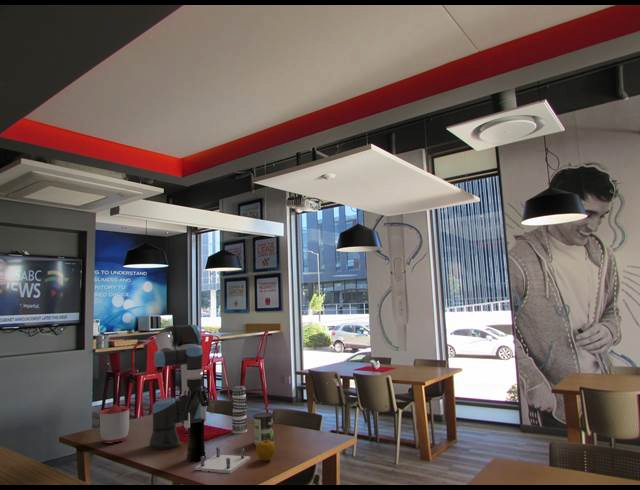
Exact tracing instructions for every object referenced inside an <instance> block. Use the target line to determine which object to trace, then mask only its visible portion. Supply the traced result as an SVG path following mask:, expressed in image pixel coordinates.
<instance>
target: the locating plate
mask: <svg viewBox="0 0 640 490" xmlns="http://www.w3.org/2000/svg"><path fill="white" fill-rule="evenodd" d="M215 448H216V450H215V451H216V452H215V455H213V456H212V457H209V458H208V459H205V460H204V456H201V462H200V464H198V465H197V466H195V467H194V471H195V470H202V471H201V472H208V471H210V473H220V474H224V473H225V474H232V473H233V472H235V471H236V470H237V469H238V468H240V467H242V466H243V465H244V464H246V463H247V462H249V461H250V460H251V456H247V455H246V456H245V448H240V455H231V454H221V448H220V446H218V447H215Z"/></svg>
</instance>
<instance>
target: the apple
mask: <svg viewBox="0 0 640 490" xmlns="http://www.w3.org/2000/svg"><path fill="white" fill-rule="evenodd" d="M255 446H256V447H255V453H256V454H257V456H258V458H259V459H260V460H261V461H263V462H264V461H265V462H268V461H270V460H271V459H272V457H273V456H274V454H275V451H276V445H275V443H273V442H272V441H270V440H265V441H261V442H259V443H258V444H257V445H255Z"/></svg>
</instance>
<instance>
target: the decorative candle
mask: <svg viewBox="0 0 640 490" xmlns="http://www.w3.org/2000/svg"><path fill="white" fill-rule="evenodd" d="M246 389H247V388H246V387H245V386H244V385H235V386H233V388H232V389H231V391H232V395H231V396H230V401H231V411H232V420H231V421H232V423H231V424H232V434H243V433H247V432H248V428H249V427H248V417H247V409H248V407H247V406H248V405H247V403H248V401H247V400H248V398H247V397H246V396H247V394H246Z"/></svg>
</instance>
